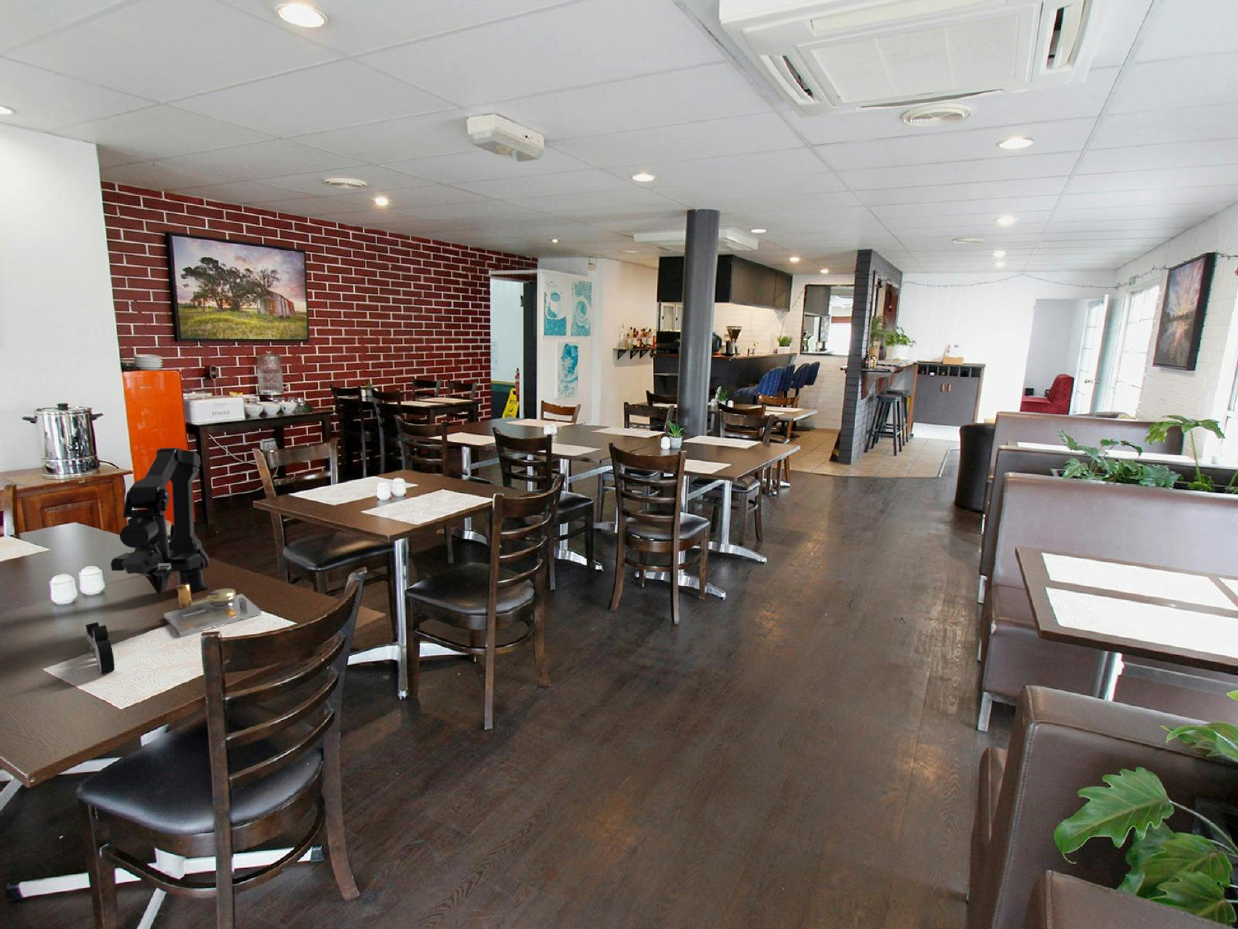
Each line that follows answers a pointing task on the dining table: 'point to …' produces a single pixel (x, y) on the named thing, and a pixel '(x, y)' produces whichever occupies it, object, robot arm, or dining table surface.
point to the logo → (100, 646)
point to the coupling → (212, 597)
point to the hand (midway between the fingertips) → (161, 594)
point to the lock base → (210, 615)
